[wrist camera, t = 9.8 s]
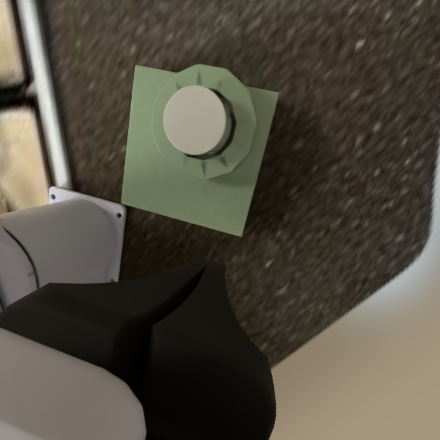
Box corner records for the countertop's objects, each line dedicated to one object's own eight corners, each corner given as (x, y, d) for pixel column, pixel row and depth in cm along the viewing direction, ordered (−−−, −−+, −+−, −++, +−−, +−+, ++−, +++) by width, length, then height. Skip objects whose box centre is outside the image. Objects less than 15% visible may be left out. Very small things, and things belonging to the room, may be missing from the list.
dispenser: (245, 226, 21) (237, 246, 17) (139, 197, 23) (104, 208, 18) (279, 98, 18) (281, 78, 14) (155, 74, 20) (118, 48, 15)
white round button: (224, 160, 16) (218, 161, 14) (172, 148, 16) (158, 147, 14) (237, 100, 15) (232, 91, 13) (181, 89, 15) (168, 78, 13)
